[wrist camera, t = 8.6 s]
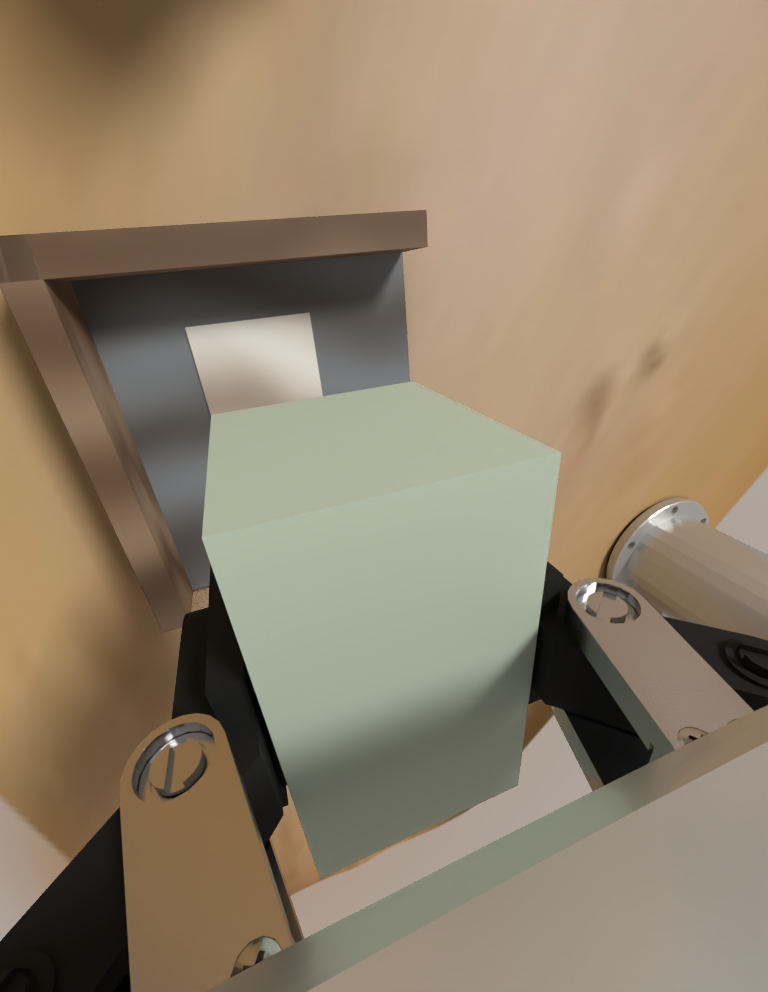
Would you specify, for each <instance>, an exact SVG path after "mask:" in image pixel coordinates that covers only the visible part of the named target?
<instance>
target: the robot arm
mask: <svg viewBox="0 0 768 992" xmlns="http://www.w3.org/2000/svg"><path fill="white" fill-rule="evenodd" d="M540 699H542V700H543V701H544V703H545V704H547V705H550V706H551V708H552V711H553V713H554V715H555V717H556V719H557V721H558V723H559V725H560V727H561V729H562V731H563V733H564V735H565V737H566V739H567V741H568V743H569V745H570V747H571V749H572V751H573V753H574V755H575V757H576V759H577V761H578V763H579V765H580V767H581V769H582V771H583V773H584V775H585V777H586V779H587V781H588V783H589V785H590V787H591V789H592V791H593V792H591V793H589V794H587V795H585V796H583V797H581V798H579V799H577V800H575V801H574V802H571V803H569V804H567V805H565V806H563V807H561V808H559V809H557V810H556V811H554V812H552V813H550V814H548V815H546V816H544V817H542V818H540V819H538V820H536V821H534V822H532V823H530V824H528V825H526V826H524V827H522V828H520V829H518V830H516V831H514V832H512V833H510V834H508V835H506V836H504V837H502V838H500V839H499V840H497V841H494V842H493V843H491V844H489V845H487V846H485V847H483V848H481V849H479V850H477V851H475V852H473V853H471V854H469V855H467V856H465V857H463V858H461V859H459V860H457V861H455V862H453V863H451V864H449V865H447V866H445V867H444V868H442V869H439V870H438V871H436V872H434V873H432V874H430V875H428V876H426V877H424V878H422V879H420V880H418V881H416V882H414V883H412V884H410V885H408V886H407V887H404V888H403V889H401V890H399V891H397V892H395V893H393V894H391V895H389V896H387V897H385V898H383V899H381V900H379V901H377V902H375V903H373V904H371V905H370V906H367V907H366V908H364V909H362V910H360V911H358V912H356V913H354V914H352V915H350V916H348V917H346V918H344V919H342V920H340V921H338V922H336V923H335V924H332V925H331V926H328V927H327V928H325V929H323V930H321V931H319V932H317V933H315V934H313V935H311V936H309V937H307V938H305V939H304V937H303V933H302V930H301V927H300V925H299V922H298V919H297V916H296V913H295V910H294V907H293V904H292V901H291V898H290V895H289V892H288V889H287V886H286V883H285V880H284V877H283V874H282V871H281V868H280V865H279V862H278V859H277V856H276V853H275V850H274V847H273V844H272V841H271V838H270V837H271V835H272V834H273V832H274V830H275V828H276V827H277V825H278V823H279V822H280V820H281V818H282V816H283V807H284V806H287V805H288V798H287V790H286V785H287V782H286V779H285V776H284V773H283V770H282V768H281V765H280V762H279V759H278V756H277V753H276V750H275V747H274V745H273V742H272V739H271V736H270V733H269V730H268V727H267V724H266V722H265V719H264V716H263V713H262V710H261V707H260V704H259V701H258V699H257V696H256V693H255V690H254V687H253V684H252V681H251V678H250V676H249V673H248V670H247V667H246V664H245V661H244V658H243V655H242V653H241V650H240V647H239V644H238V641H237V638H236V635H235V632H234V630H233V627H232V624H231V621H230V618H229V615H228V612H227V609H226V607H225V604H224V601H223V598H222V595H221V592H220V589H219V586H218V584H217V581H216V578H215V575H214V572H213V569H212V566H211V563H210V582H209V607H208V608H205V609H201V610H198V611H194V612H190V613H187V614H185V616H184V619H183V625H182V634H181V642H180V651H179V660H178V669H177V677H176V686H175V695H174V703H173V712H172V720H170V721H167V722H166V723H164V724H163V725H161V726H160V727H158V728H157V729H155V730H153V731H152V732H151V733H150V734H149V735H148V736H147V737H146V738H145V739H144V740H143V741H142V742H141V743H139V745H138V746H137V747H136V749H135V750H134V752H133V753H132V754H131V756H130V757H129V758H128V760H127V763H126V765H125V767H124V769H123V772H122V774H121V779H120V787H119V799H120V807H119V808H118V810H117V811H116V812H115V813H114V814H113V815H112V816H111V817H110V819H109V820H108V821H107V822H106V823H105V824H104V825H103V826H102V828H101V829H100V830H99V831H98V832H97V833H96V834H95V835H94V837H93V838H92V839H91V840H90V841H89V842H88V843H87V844H86V846H85V847H84V848H83V849H82V850H81V851H80V852H79V853H78V855H77V856H76V857H75V858H74V859H73V860H72V861H71V862H70V864H69V865H68V866H67V867H66V868H65V869H64V870H63V871H62V873H61V874H60V875H59V876H58V877H57V878H56V879H55V880H54V882H53V883H52V884H51V885H50V886H49V887H48V889H46V891H45V892H44V893H43V894H42V895H41V896H40V897H39V899H38V900H37V901H36V902H35V903H34V904H33V905H32V906H31V908H30V909H29V910H28V911H27V912H26V913H25V914H24V915H23V916H22V918H21V919H20V920H19V921H18V922H17V923H16V925H14V927H13V928H12V929H11V930H10V931H9V932H8V933H7V935H6V936H5V937H4V938H3V939H2V940H1V941H0V992H768V554H766V553H764V552H761V551H759V550H757V549H755V548H753V547H751V546H749V545H747V544H745V543H743V542H741V541H739V540H737V539H734V538H733V537H731V536H728V535H726V534H724V533H722V532H720V531H718V530H716V529H714V528H712V527H710V526H709V520H708V514H707V512H706V510H705V508H704V507H703V506H702V505H701V504H699V503H697V502H695V501H693V500H691V499H687V498H684V497H679V498H672V499H668V500H665V501H662V502H660V503H658V504H656V505H654V506H652V507H651V508H649V509H648V510H646V511H645V512H644V513H642V514H641V515H640V516H639V517H638V518H636V519H635V520H634V521H633V522H632V523H631V525H630V526H629V527H628V528H627V529H626V530H625V532H624V533H623V534H622V535H621V537H620V538H619V540H618V542H617V543H616V545H615V547H614V549H613V551H612V553H611V555H610V558H609V562H608V565H607V572H606V579H603V578H587V579H583V580H579V581H577V582H576V583H574V584H571V583H570V582H569V581H568V580H567V579H565V578H564V577H563V574H562V573H561V572H559V571H558V570H557V569H556V568H555V567H553V566H552V565H551V564H550V563H549V562H547V566H546V573H545V581H544V589H543V596H542V604H541V612H540V619H539V627H538V634H537V642H536V650H535V657H534V665H533V673H532V680H531V688H530V696H529V703H528V704H530V703H533V702H535V701H537V700H540Z"/></svg>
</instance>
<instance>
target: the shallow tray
mask: <svg viewBox="0 0 768 992" xmlns="http://www.w3.org/2000/svg"><path fill="white" fill-rule="evenodd" d="M423 247H428V245H427V216H426V210H418V211H401V212H385V213H368V214H352V215H336V216H319V217H303V218H286V219H270V220H254V221H237V222H221V223H204V224H188V225H172V226H155V227H139V228H122V229H106V230H90V231H73V232H57V233H40V234H24V235H8V236H0V288H1V291H2V293H3V295H4V297H5V299H6V301H7V303H8V305H9V308H10V310H11V312H12V314H13V316H14V318H15V320H16V322H17V324H18V327H19V329H20V331H21V333H22V335H23V337H24V339H25V341H26V344H27V346H28V348H29V350H30V352H31V354H32V356H33V358H34V361H35V363H36V365H37V367H38V369H39V371H40V373H41V375H42V377H43V380H44V382H45V384H46V386H47V388H48V390H49V392H50V394H51V397H52V399H53V401H54V403H55V405H56V407H57V409H58V411H59V413H60V416H61V418H62V420H63V422H64V424H65V426H66V428H67V430H68V433H69V435H70V437H71V439H72V441H73V443H74V445H75V447H76V450H77V452H78V454H79V456H80V458H81V460H82V462H83V464H84V466H85V469H86V471H87V473H88V475H89V477H90V479H91V481H92V483H93V486H94V488H95V490H96V492H97V494H98V496H99V498H100V500H101V502H102V505H103V507H104V509H105V511H106V513H107V515H108V517H109V519H110V522H111V524H112V526H113V528H114V530H115V532H116V534H117V536H118V539H119V541H120V543H121V545H122V547H123V549H124V551H125V553H126V555H127V558H128V560H129V562H130V564H131V566H132V568H133V570H134V572H135V575H136V577H137V579H138V581H139V583H140V585H141V587H142V589H143V592H144V594H145V596H146V598H147V600H148V602H149V604H150V606H151V608H152V611H153V613H154V615H155V617H156V619H157V621H158V623H159V625H160V628H161V630H162V632H166V631H170V630H173V629H176V628H180V627H182V625H183V619H184V616H185V614H187V613H190V612H191V605H192V595H193V590H195V589H199V588H203V587H206V586H209V582H210V561H209V558H208V555H207V552H206V549H205V546H204V543H203V540H202V528H203V516H204V503H205V490H206V477H207V464H208V451H209V438H210V425H211V415H213V414H219V413H225V412H231V411H237V410H243V409H249V408H255V407H261V406H267V405H273V404H279V403H285V402H291V401H297V400H303V399H310V398H316V397H322V396H328V395H334V394H340V393H346V392H352V391H358V390H364V389H370V388H376V387H382V386H388V385H394V384H400V383H406V382H410V375H409V358H408V341H407V325H406V308H405V291H404V274H403V257H402V252H405V251H410V250H414V249H419V248H423Z"/></svg>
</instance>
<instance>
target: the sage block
mask: <svg viewBox="0 0 768 992" xmlns="http://www.w3.org/2000/svg"><path fill="white" fill-rule="evenodd" d="M560 459H561V452H559V451H557V450H555V449H553V448H551V447H549V446H547V445H545V444H543V443H540V442H538V441H536V440H534V439H532V438H530V437H528V436H526V435H524V434H522V433H520V432H518V431H515V430H513V429H511V428H509V427H507V426H505V425H503V424H501V423H499V422H497V421H495V420H492V419H490V418H488V417H486V416H484V415H482V414H480V413H478V412H476V411H474V410H472V409H470V408H467V407H465V406H463V405H461V404H459V403H457V402H455V401H453V400H451V399H449V398H447V397H444V396H442V395H440V394H438V393H436V392H434V391H432V390H430V389H428V388H426V387H424V386H422V385H419V384H417V383H415V382H413V381H412V382H406V383H400V384H394V385H388V386H382V387H376V388H370V389H364V390H358V391H352V392H346V393H340V394H334V395H328V396H322V397H316V398H310V399H303V400H297V401H291V402H285V403H279V404H273V405H267V406H261V407H255V408H249V409H243V410H237V411H231V412H225V413H219V414H213V415H211V425H210V438H209V451H208V464H207V477H206V490H205V503H204V516H203V528H202V540H203V543H204V546H205V549H206V552H207V555H208V558H209V561H210V563H211V566H212V569H213V572H214V575H215V578H216V581H217V584H218V586H219V589H220V592H221V595H222V598H223V601H224V604H225V607H226V609H227V612H228V615H229V618H230V621H231V624H232V627H233V630H234V632H235V635H236V638H237V641H238V644H239V647H240V650H241V653H242V655H243V658H244V661H245V664H246V667H247V670H248V673H249V676H250V678H251V681H252V684H253V687H254V690H255V693H256V696H257V699H258V701H259V704H260V707H261V710H262V713H263V716H264V719H265V722H266V724H267V727H268V730H269V733H270V736H271V739H272V742H273V745H274V747H275V750H276V753H277V756H278V759H279V762H280V765H281V768H282V770H283V773H284V776H285V779H286V782H287V785H288V788H289V791H290V793H291V796H292V799H293V802H294V805H295V808H296V811H297V814H298V816H299V819H300V822H301V825H302V828H303V831H304V834H305V837H306V839H307V842H308V845H309V848H310V851H311V854H312V857H313V860H314V862H315V865H316V868H317V871H318V874H319V877H320V879H321V878H323V877H325V876H327V875H330V874H332V873H334V872H336V871H338V870H340V869H342V868H344V867H346V866H349V865H351V864H353V863H355V862H357V861H359V860H361V859H363V858H365V857H367V856H370V855H372V854H374V853H376V852H378V851H380V850H382V849H384V848H386V847H389V846H391V845H393V844H395V843H397V842H399V841H401V840H403V839H405V838H408V837H410V836H412V835H414V834H416V833H418V832H420V831H422V830H424V829H427V828H429V827H431V826H433V825H435V824H437V823H439V822H441V821H443V820H446V819H448V818H450V817H452V816H454V815H456V814H458V813H460V812H462V811H464V810H467V809H469V808H471V807H473V806H475V805H477V804H479V803H481V802H483V801H486V800H488V799H490V798H492V797H494V796H496V795H498V794H500V793H502V792H504V791H507V790H509V789H511V788H513V787H515V786H517V785H518V779H519V771H520V764H521V756H522V749H523V741H524V734H525V726H526V718H527V711H528V703H529V696H530V688H531V680H532V673H533V665H534V657H535V650H536V642H537V634H538V627H539V619H540V612H541V604H542V596H543V589H544V581H545V573H546V566H547V558H548V550H549V543H550V535H551V527H552V520H553V512H554V505H555V497H556V489H557V482H558V474H559V466H560Z"/></svg>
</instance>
